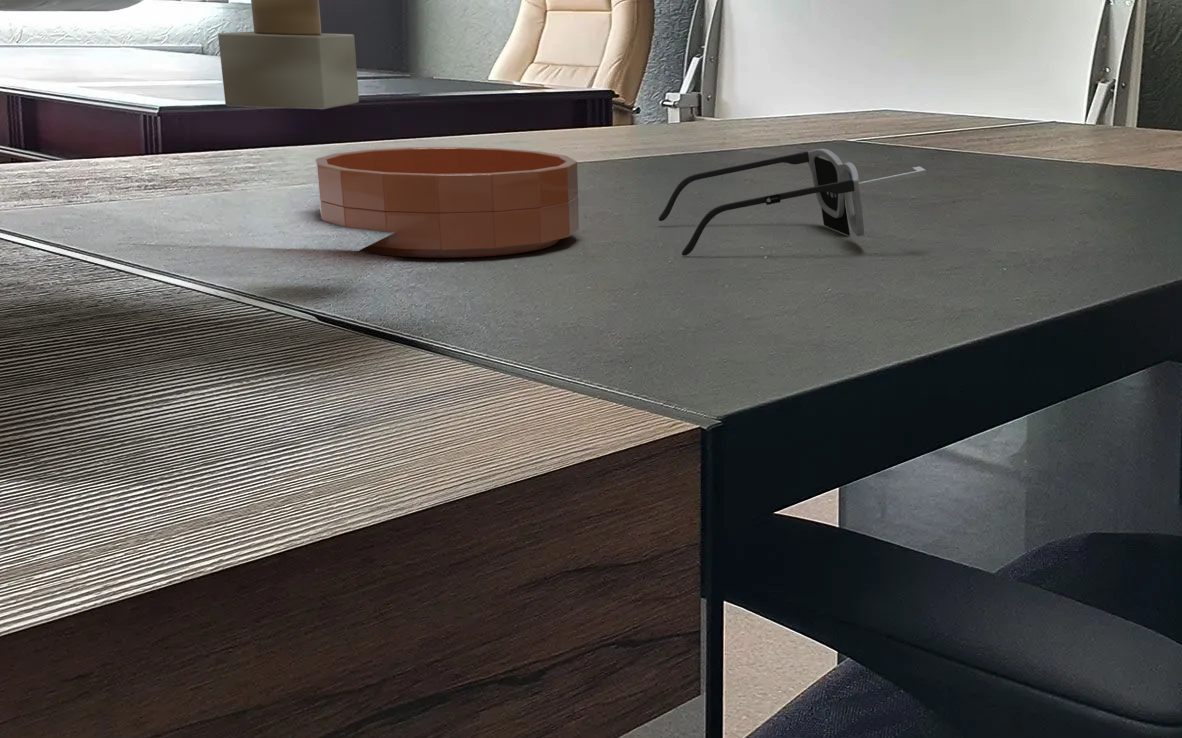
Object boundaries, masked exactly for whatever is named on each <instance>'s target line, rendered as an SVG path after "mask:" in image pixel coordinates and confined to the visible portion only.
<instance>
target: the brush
mask: <svg viewBox="0 0 1182 738" xmlns="http://www.w3.org/2000/svg"><path fill="white" fill-rule="evenodd" d="M250 5H251V14H252V24H253V26H252V27H253V31H239V32H219V33H218V34H217V38H218V39H217V40H218V46H219V47H218V49H219V56H220V67H221V76H222V85H223V95H224V104H225V106H226V107H246V108H247V107H249V108H251V107H252V108H279V109H307V110H308V109H309V110H327V109H331V108H337V107H342V106H347V105H352V104H357V103H359V102H360V96H359V83H358V82H359V81H358V80H359V79H358V70H357V69H358V68H357V54H356V43H355V41H356V40H355V34H351V33H350V34H349V33H324V32H323V33H322V24H321V23H322V22H321V10H320V0H250Z"/></svg>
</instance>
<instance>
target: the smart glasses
mask: <svg viewBox="0 0 1182 738" xmlns="http://www.w3.org/2000/svg"><path fill="white" fill-rule="evenodd" d="M820 156H822V157H824V158H821V157H820ZM783 163H784V164H789V165H802V164H806V163H807V164H808V167H809V169H810V174H811V178H812V183H813V186H810V187H805V188H800V189H795V190H791V191H785V192H780V193H775V194H770V195H764V196H760V197H754V198H748V199H743V200H740V201H734V202H729V203H724V204H721V205H718V206H716V207H713V208H712V209H711V210H709V211H708V212H707V213H706V214H705V215H704V217H702V219H701V220H700V222H699V224H698V225H697V226H696V228H695V231H694V232H693V234H692V236H691V238H690V240H689V241H688V243H687V244H686V246H685V247H684V249H683V250H682V251H681V256H683V257H685V256H688V255H689V254H690V253H692V251H694V249H695V247H696V246H697V243H698V241H699V239H700V237H701V235H702V234H703V232H704V230H705V228H706V227H707V225H708V224H709V223H710V221H712V219H713V218H714V217H715V218H716V216H717V215H719V214H721V213H723V212H727V211H731V210H736V209H737V210H738V209H741V208H747V207H752V206H758V205H762V204H765V205H766V206H769V205H773V204H778V203H781V201H782V200H787V199H793V198H798V197H803V196H807V195H813V194H815V197H816V199H817V203H818V205H819V206H820V208H821V216H822V222H823V226H824V227H827V228H830V229H832V230H834V231H836V232H839V233H841V234H844V235H847V236H849V237H850V236H851V231H850V228H851V230H852V231H853V233H854V234H855V235H856V236H857V237H861V236H864V235H865V225H864V215H863V207H862V199H861V189H864V188H869V187H873V186H878V185H879V186H880V185H884V184H889V183H893V182H899V181H904V180H908V179H913V178H918V177H923V176H927V170H926V169H925V168H923V167H922V166H913V167H912V171H910V172H905V173H899V174H895V175H889V176H885V177H879V178H874V179H869V180H865V181H860V179H859V173H858V169H857V168H856V166H855V164H854V163H852V162H849V161H848V162H842V160H841V158H840V157H839V156H838V155H837V154H835V152H833V151H831V150H829V149H827V148H816V149H812V150H809V151H801V152H797V153H792V154H788V155H781V156H778V157H773V158H767V159H763V160H758V161H754V162H753V161H752V162H748V163H742V164H738V165H733V166H728V167H724V168H719V169H714V170H709V171H704V172H699V173H695V174H692V175H689V176H687V177H685V178H684V179H682V180H681V181H679V183H678V185H677V186H676V188H675V189H674V190H673V192H672V194H671V196H670V197H669V199H668V201H667V204H666V206H665V207H664V209H663V211H662V212H661V214H659V216H658V221H659V222H664V221H665V220H666V219H668V217H669V216H670V213H671V212H672V210H673V207H674V205H675V203H676V200H677V199H678V197H679V195H680V194H681V192H682V191H683V190H684V189H685V188H686V187H687V186H688V185H689V184H691V183H693V182H695V181H698V180H702V179H703V180H704V179H708V178H713V177H718V176H723V175H729V174H732V173H739V172H742V171H747V170H748V171H749V170H752V169H757V168H763V167H767V166H771V165H776V164H783Z"/></svg>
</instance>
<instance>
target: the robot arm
mask: <svg viewBox="0 0 1182 738" xmlns="http://www.w3.org/2000/svg"><path fill="white" fill-rule="evenodd" d="M142 1H144V0H0V12H114V11H120V10H124V9H127V8H131V7H133V6H135V5H137V4H139V3H142Z"/></svg>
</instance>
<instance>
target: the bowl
mask: <svg viewBox="0 0 1182 738" xmlns="http://www.w3.org/2000/svg"><path fill="white" fill-rule="evenodd" d="M314 161H315V170H316V183H317V193H318V204H319V205H318V206H319V215H320V219H321V221H323V222H327V223H331V224H334V225H337V226H341V227H344V228H352V229H360V230H369V231H378V232H389V233H391V234H390V235H389V234H388V235H386V236H385V237H383V238H381V239H378V240H377V241H375V242H373V243H370V244H369V245H367V246H365V247H362V248H361V249H358V250H359V251H358V252H362V251H363V252H364V253H367V252H368V254H373V253H374V255H380V256H381V255H382V256H389V257H403V258H420V259H421V258H424V259H426V258H427V259H429V258H430V259H458V258H459V259H465V258H466V259H467V258H483V257H496V256H497V257H498V256H509V255H516V254H517V255H518V254H524V253H529V252H530V253H531V252H534V251H535V252H536V251H539V250H543V249H546V248H549V247H552V246H555V245H557V244H558V243H559V242H560V241H561V239H566V238H570V237H571V236H572V235H574V233H576V232H577V231H578V230H579V229H580V216H579V215H580V214H579V213H580V211H579V182H578V181H579V180H578V179H579V178H578V161H577V160H576V159H574V158H572V157H570V156H567V155H564V154H557V153H551V152H545V151H538V150H526V149H514V148H513V149H512V148H502V147H501V148H498V147H497V148H495V147H467V146H465V147H463V146H458V147H457V146H437V147H435V146H433V147H432V146H431V147H429V146H428V147H425V146H424V147H422V146H421V147H395V148H394V147H393V148H375V149H363V150H362V149H361V150H355V151H344V152H336V153H332V154H328V155H325V156H321V157H318V158H315V160H314Z"/></svg>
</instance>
